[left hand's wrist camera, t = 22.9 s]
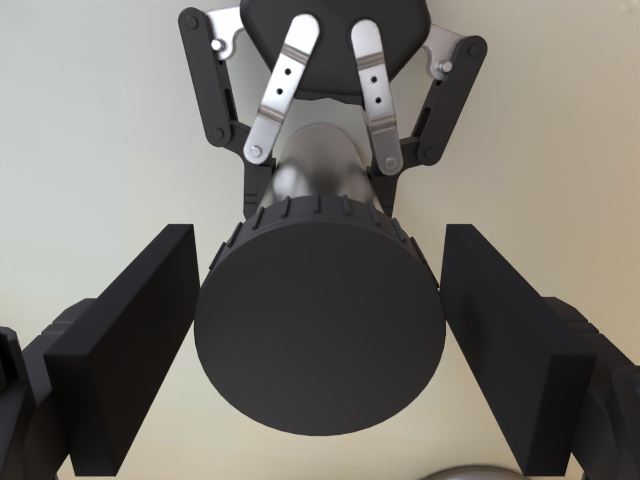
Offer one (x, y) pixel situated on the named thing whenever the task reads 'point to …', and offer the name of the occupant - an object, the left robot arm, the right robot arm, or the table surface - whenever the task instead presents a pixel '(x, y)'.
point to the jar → (320, 168)
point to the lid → (319, 317)
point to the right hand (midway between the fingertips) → (316, 233)
